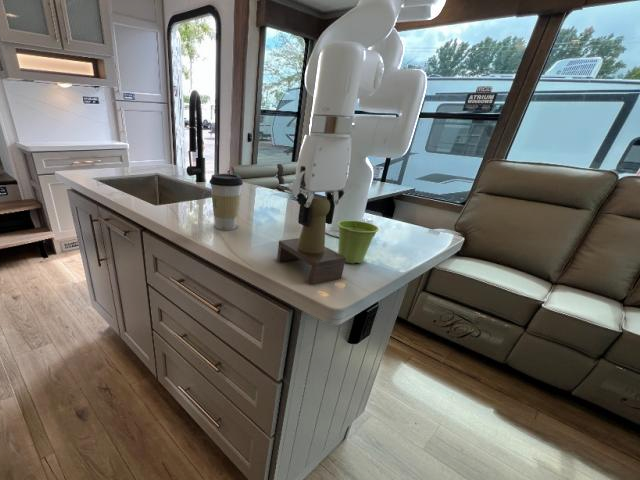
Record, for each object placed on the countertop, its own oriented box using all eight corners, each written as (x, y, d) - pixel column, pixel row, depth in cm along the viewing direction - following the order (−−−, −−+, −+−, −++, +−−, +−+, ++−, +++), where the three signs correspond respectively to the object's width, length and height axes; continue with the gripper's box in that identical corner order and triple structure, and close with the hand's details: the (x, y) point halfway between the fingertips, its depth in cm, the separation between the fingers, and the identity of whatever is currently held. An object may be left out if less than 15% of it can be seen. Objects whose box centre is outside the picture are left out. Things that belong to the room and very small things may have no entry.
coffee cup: (222, 220, 105) (223, 172, 97) (247, 226, 100) (249, 176, 92) (203, 227, 98) (202, 175, 90) (228, 233, 93) (229, 180, 85)
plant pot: (336, 249, 85) (343, 217, 81) (372, 257, 81) (382, 224, 77) (326, 260, 78) (333, 226, 74) (365, 270, 74) (375, 234, 70)
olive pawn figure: (324, 254, 68) (334, 202, 62) (296, 251, 69) (303, 199, 63) (324, 245, 73) (333, 196, 67) (297, 242, 74) (304, 193, 68)
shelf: (303, 256, 80) (306, 237, 78) (341, 278, 69) (346, 257, 67) (276, 260, 77) (278, 240, 74) (312, 284, 66) (315, 262, 64)
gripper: (350, 128, 65) (334, 216, 74) (280, 125, 58) (271, 222, 67) (379, 130, 59) (357, 225, 68) (304, 127, 52) (291, 232, 62)
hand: (314, 222), depth 68 cm, fingers closed on olive pawn figure, 5 cm apart
